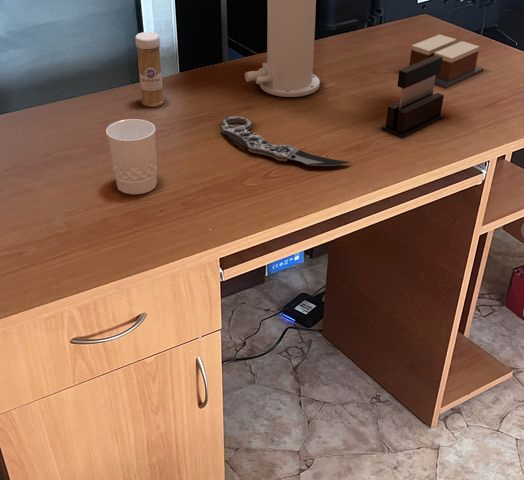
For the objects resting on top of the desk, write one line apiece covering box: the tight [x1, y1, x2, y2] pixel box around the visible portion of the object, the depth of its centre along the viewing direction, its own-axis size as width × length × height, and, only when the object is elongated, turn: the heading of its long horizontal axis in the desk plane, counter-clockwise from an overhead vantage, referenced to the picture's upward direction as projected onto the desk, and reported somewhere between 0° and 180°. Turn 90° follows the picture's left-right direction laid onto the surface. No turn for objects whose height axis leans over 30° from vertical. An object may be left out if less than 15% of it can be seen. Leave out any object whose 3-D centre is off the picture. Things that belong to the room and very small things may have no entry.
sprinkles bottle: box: [135, 31, 165, 108], centre depth 154 cm, size 5×5×14 cm
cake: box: [402, 33, 484, 89], centre depth 170 cm, size 14×12×6 cm
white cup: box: [105, 118, 158, 195], centre depth 129 cm, size 8×8×10 cm
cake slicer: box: [397, 55, 443, 110], centre depth 148 cm, size 11×2×11 cm, turn 134°
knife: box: [220, 115, 352, 167], centre depth 143 cm, size 28×2×10 cm
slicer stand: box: [380, 92, 445, 139], centre depth 150 cm, size 13×5×5 cm, turn 134°
